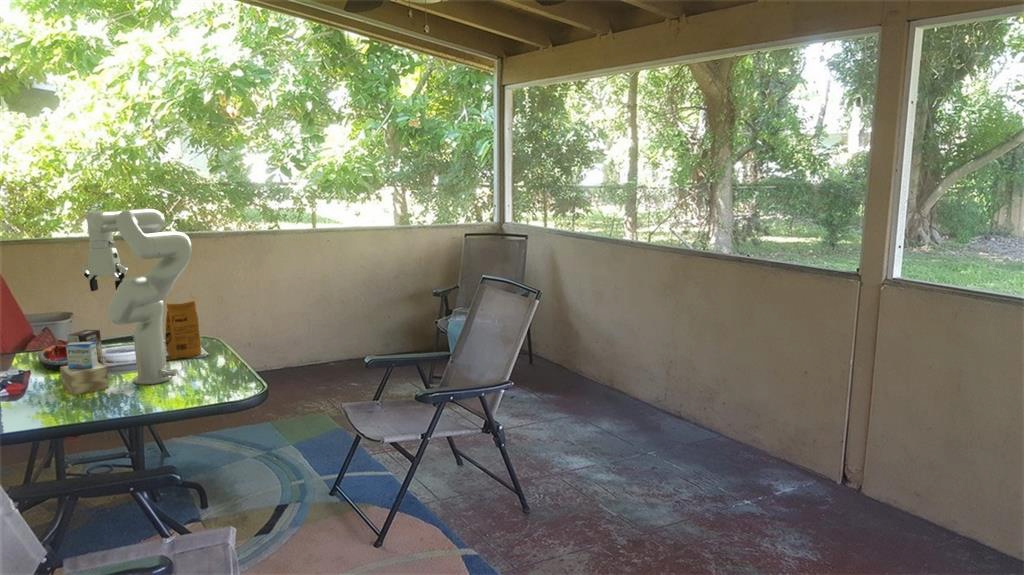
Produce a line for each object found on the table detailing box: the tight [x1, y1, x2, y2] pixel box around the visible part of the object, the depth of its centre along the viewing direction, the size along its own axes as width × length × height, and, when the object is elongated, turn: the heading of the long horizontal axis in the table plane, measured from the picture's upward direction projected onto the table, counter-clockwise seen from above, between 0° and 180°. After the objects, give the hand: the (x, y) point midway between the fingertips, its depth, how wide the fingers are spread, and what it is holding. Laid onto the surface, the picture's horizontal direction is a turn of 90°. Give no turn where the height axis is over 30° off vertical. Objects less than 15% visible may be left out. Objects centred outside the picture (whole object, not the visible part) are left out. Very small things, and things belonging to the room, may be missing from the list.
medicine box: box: [65, 341, 98, 369], centre depth 242 cm, size 8×4×9 cm, turn 98°
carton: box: [59, 368, 110, 397], centre depth 244 cm, size 11×12×7 cm
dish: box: [37, 344, 68, 371], centre depth 275 cm, size 16×31×5 cm, turn 36°
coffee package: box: [164, 299, 202, 360], centre depth 283 cm, size 10×12×22 cm
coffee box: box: [66, 329, 105, 366], centre depth 259 cm, size 9×6×16 cm
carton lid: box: [60, 362, 108, 376], centre depth 243 cm, size 11×12×1 cm
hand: (107, 290), depth 261 cm, fingers open, 9 cm apart
